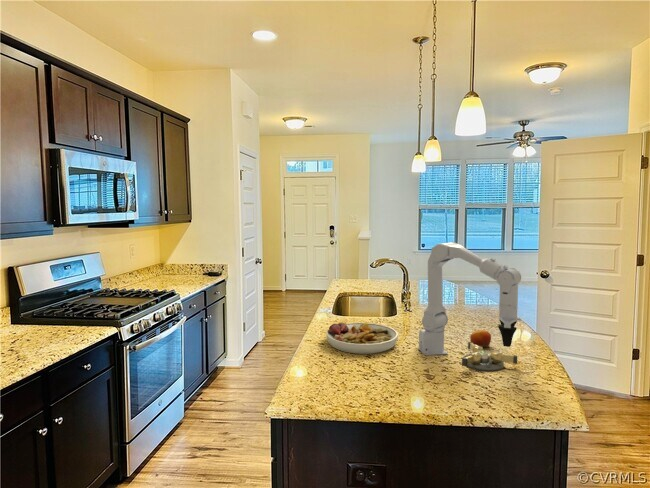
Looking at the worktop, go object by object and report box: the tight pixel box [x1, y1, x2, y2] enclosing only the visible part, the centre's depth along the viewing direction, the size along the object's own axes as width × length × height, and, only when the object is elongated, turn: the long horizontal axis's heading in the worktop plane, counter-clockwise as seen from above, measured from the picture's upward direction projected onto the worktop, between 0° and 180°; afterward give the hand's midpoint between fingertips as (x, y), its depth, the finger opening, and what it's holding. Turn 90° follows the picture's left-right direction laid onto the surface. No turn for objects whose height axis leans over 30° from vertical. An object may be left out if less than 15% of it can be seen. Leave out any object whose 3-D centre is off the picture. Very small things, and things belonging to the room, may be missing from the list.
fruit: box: [469, 329, 492, 348], centre depth 170 cm, size 8×8×8 cm
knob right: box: [490, 350, 518, 365], centre depth 148 cm, size 9×4×4 cm, turn 65°
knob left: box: [461, 352, 481, 367], centre depth 147 cm, size 9×4×4 cm, turn 125°
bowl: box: [326, 322, 399, 355], centre depth 175 cm, size 30×30×8 cm
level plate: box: [462, 350, 505, 372], centre depth 151 cm, size 14×14×4 cm
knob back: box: [467, 341, 484, 352], centre depth 158 cm, size 9×4×4 cm, turn 5°
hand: (507, 342), depth 142 cm, fingers open, 7 cm apart
